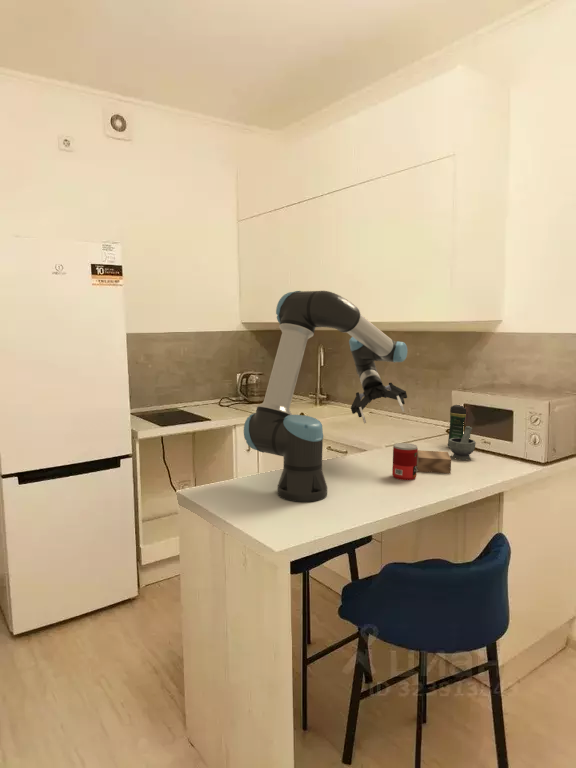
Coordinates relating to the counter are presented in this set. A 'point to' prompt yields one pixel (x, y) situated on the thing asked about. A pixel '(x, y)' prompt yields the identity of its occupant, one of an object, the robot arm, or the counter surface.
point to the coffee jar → (456, 421)
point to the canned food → (404, 461)
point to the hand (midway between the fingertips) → (383, 414)
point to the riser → (433, 461)
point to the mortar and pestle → (462, 445)
